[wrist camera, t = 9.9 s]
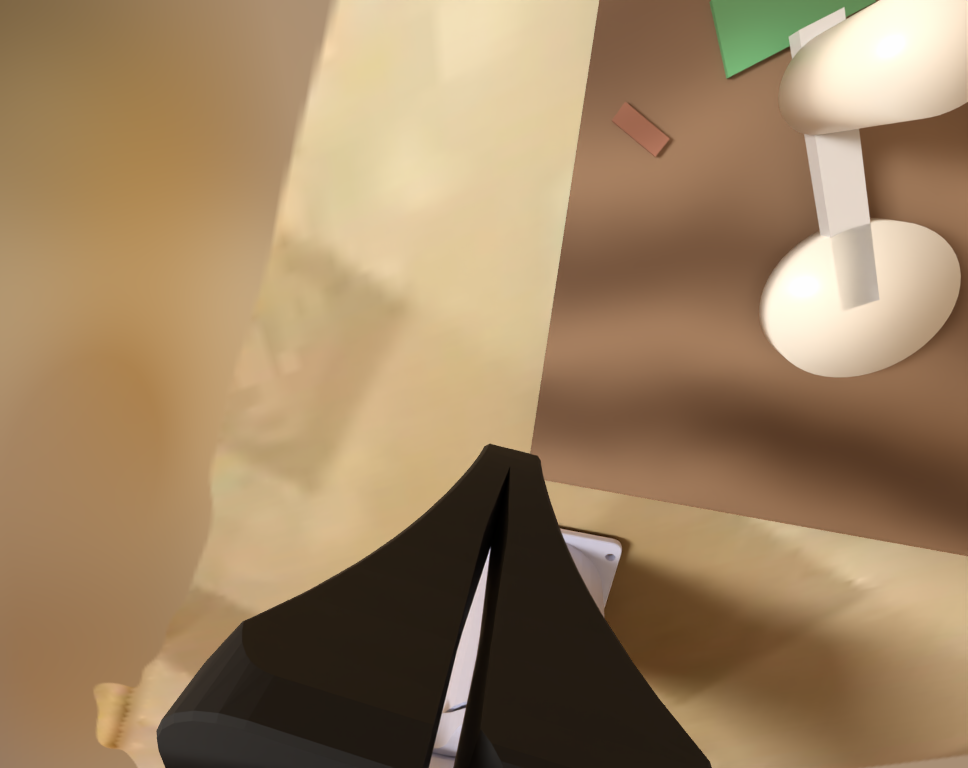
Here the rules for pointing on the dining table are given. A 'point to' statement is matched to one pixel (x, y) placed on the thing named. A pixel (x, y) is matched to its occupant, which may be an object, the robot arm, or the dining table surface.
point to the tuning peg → (842, 189)
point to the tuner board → (739, 291)
